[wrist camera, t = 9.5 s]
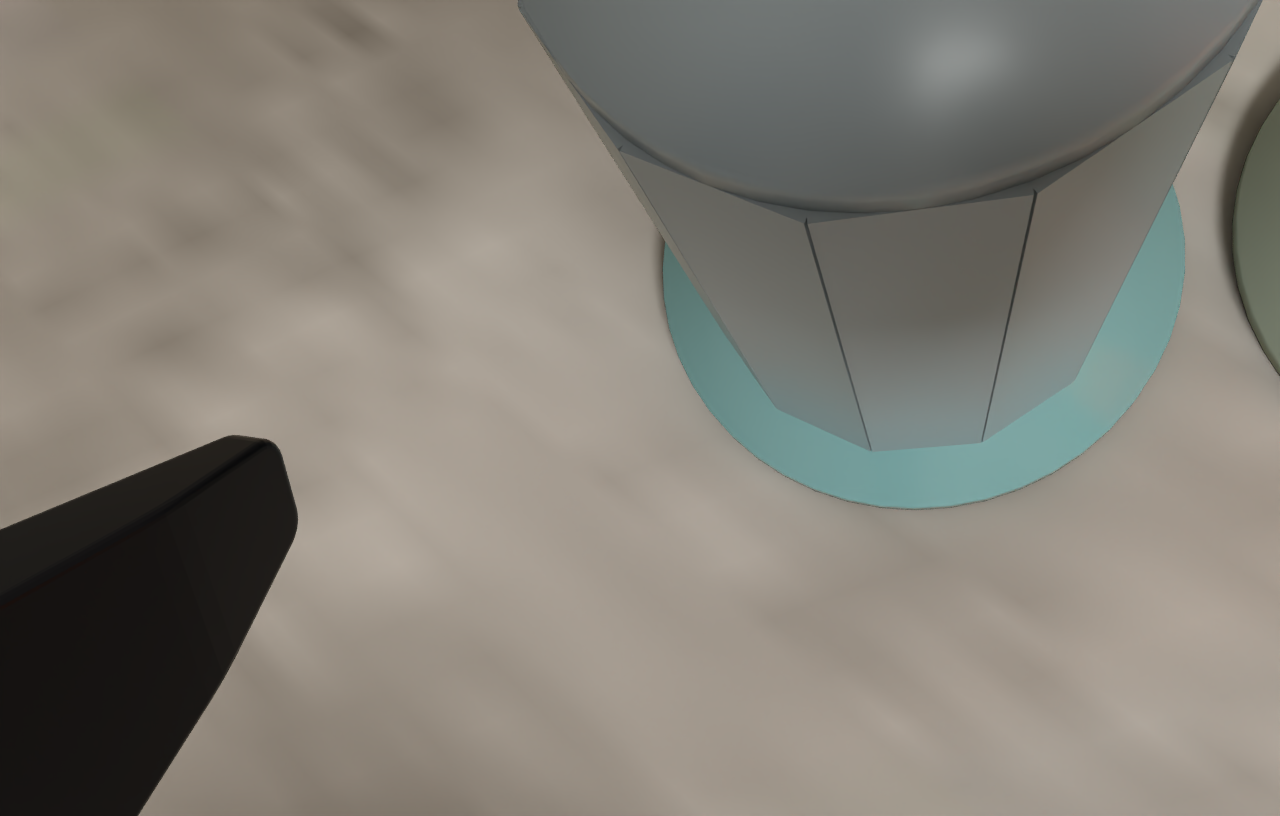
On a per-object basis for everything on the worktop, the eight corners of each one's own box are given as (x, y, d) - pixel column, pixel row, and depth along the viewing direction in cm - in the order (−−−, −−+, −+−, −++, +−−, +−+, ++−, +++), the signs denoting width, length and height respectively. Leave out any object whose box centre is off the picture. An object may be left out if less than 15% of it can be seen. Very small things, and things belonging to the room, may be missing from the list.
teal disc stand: (733, 567, 22) (697, 549, 19) (621, 127, 25) (573, 43, 22) (1259, 428, 21) (1324, 382, 17) (1079, -30, 23) (1104, -148, 20)
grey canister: (857, 525, 22) (766, 356, 10) (649, 226, 24) (372, -203, 12) (1202, 295, 21) (1553, -186, 9) (954, 12, 23) (974, -663, 11)
